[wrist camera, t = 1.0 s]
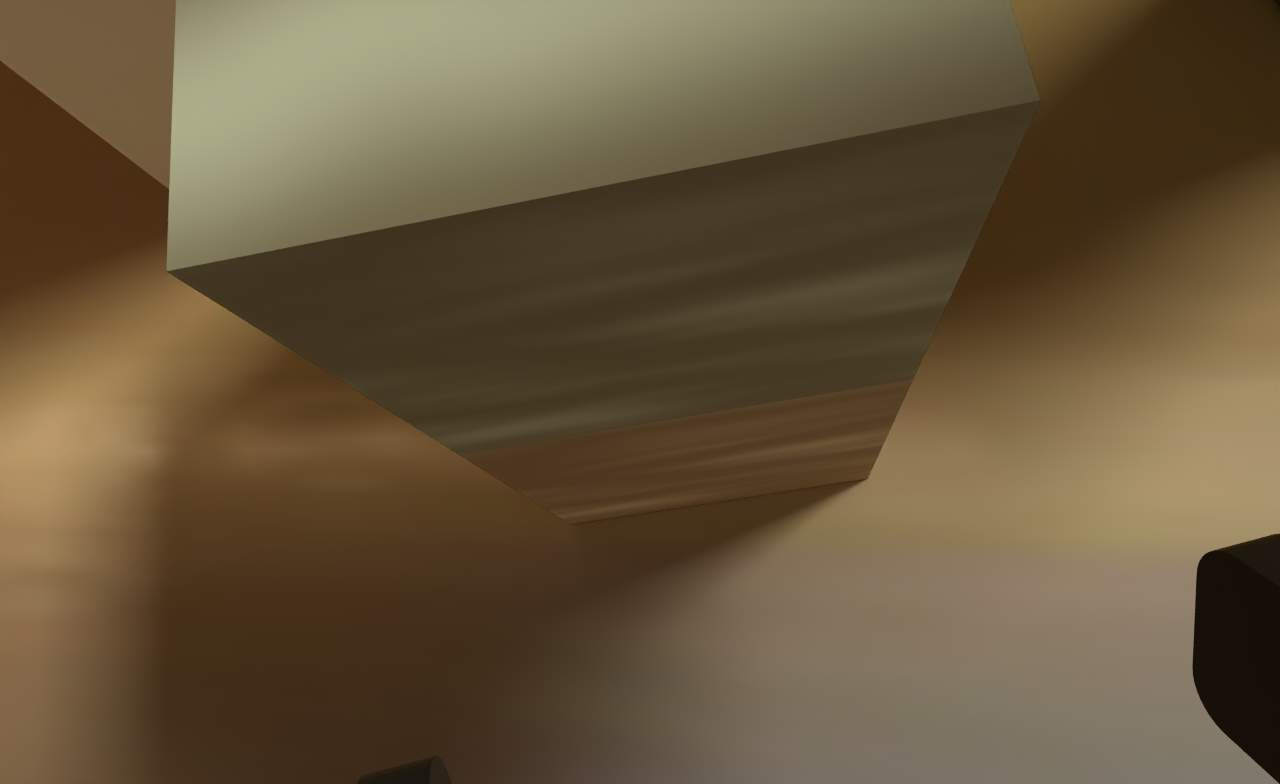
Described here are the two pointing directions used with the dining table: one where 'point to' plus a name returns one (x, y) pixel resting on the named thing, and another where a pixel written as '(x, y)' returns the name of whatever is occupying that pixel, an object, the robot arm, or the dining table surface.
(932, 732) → the dining table surface
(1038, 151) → the dining table surface
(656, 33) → the short tower
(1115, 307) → the dining table surface
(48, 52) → the tall tower
